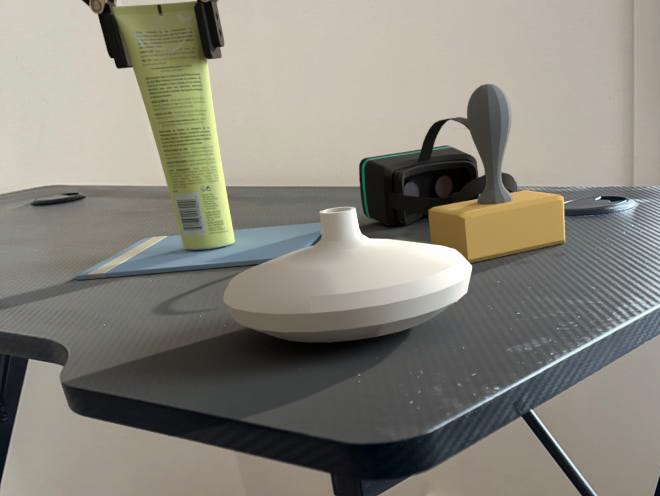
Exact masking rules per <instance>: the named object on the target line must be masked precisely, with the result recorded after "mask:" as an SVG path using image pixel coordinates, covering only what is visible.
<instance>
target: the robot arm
mask: <svg viewBox="0 0 660 496" xmlns="http://www.w3.org/2000/svg"><path fill="white" fill-rule="evenodd" d="M81 1H82V2H83V3H84V4H85V5H86V6H88V7H89V8H90V10H91V11H92V13H94V14H96V15H97V18H98V20H99V25H100V29H101V32H102V36H103V40H104V44H105V47H106V51H107V54H108V56H109V58H110V59H113V61H114V65H115V67H116V69H117V70H119V69H121V70H122V69H130V68H131V69H133V67H132V64H131V61H130V58H129V55H128V52H127V49H126V46H125V43H124V41H123V38H122V35H121V33H120V30H119V28H118V25H117V23H116V20H115V17H114V13H113V9H112V7H117V3H118V0H81ZM196 1H197V3H195V6H194V11H195V15H196V20H197V25H198V29H199V34H200V39H201V43H202V48H203V53H204V56H205V58H207V60H216V59H222V57H223V56H222V50H221V48H224V47H225V37H224V32H223V28H222V23H221V18H220V13H219V8H218V3H219V1H220V0H196Z"/></svg>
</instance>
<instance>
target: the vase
mask: <svg viewBox="0 0 660 496" xmlns="http://www.w3.org/2000/svg"><path fill="white" fill-rule="evenodd" d="M318 215H319V221H320V222H321V229H322V234H321V238H320V239H319V241H317V243H316V244H314V245H311V246H310V247H306V248H303V249H300V250H297V251H294V252H291V253H288V254H286V255H283V256H280V257H278V258H275V259H273V260H270V261H268V262H265V263H262V264H256V265H255V266H252V267H250V268H248V269H246V270H244V271H242V272H240V273H239V272H238V273H237V274H236V275H235V276H234V277H233V278H232V279H231V280H229V282H228V285H227V287H226V288H225V290H224V293H223V298H222V300H223V304H224V305H225V307H226V309H227V311H228V312H229V315H230V316H231V318H232V319H233V321H235V322H236V323H238V324H239V325H241V326H242V327H245V328H248V329H251V330H254V331H256V332H259V333H263V334H266V335H268V336H270V337H271V336H272V337H274V338H277V339H281V340H285V341H289V342H299V343H335V342H336V343H337V342H350V341H358V340H365V339H370V338H372V339H373V338H377V337H381V336H387V335H391V334H395V333H399V332H403V331H405V330H408V329H411V328H416V327H417V326H420V325H422V324H424V323H426V322H428V321H430V320H432V319H433V318H435V317H436V316H438V315H439V314H440V313H442V312H443V311H445V310H446V309H447V308H449V307H451V306H452V305H454V304H455V303H456V302H458V301H459V300H460V299H462V298H463V296H465V295H466V294H467V293H468V291H469V285H470V280H471V276H472V270H473V266H472V263H469V262H468V261H467V260H466V259H465V258H464V257H463V256H462V254H460V253H459V252H458V251H457V250H455V249H452V248H448V247H445V246H440V245H432V243H423V242H416V241H409V240H408V241H407V240H401V239H391V238H369V237H368V236H366V235H364V234H363V233H362V232H361V229H360V226H359V222H358V221H359V220H358V216H357V210H356V207H355V206H339V207H337V206H336V207H331V208H325V209H323V210H319V211H318Z"/></svg>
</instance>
